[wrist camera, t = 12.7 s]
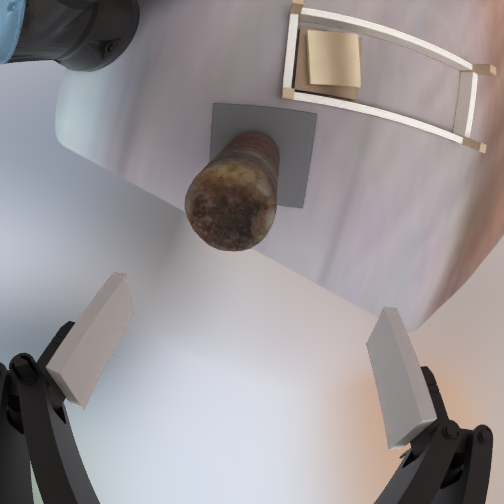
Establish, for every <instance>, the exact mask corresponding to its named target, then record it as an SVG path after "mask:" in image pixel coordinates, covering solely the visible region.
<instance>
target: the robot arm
mask: <svg viewBox="0 0 504 504" xmlns="http://www.w3.org/2000/svg"><path fill="white" fill-rule="evenodd" d="M138 21H139V7H138V4H137V1H136V0H0V64H6V63H13V62H24V61H39V60H54V61H56V62H58V63H59V64H61V65H63V66H65V67H66V68H68V69H70V70H74V71H94V70H97V69H100V68H103V67H105V66H106V65H108V64H110V63H111V62H113V61H114V60H115V59H116V58H117V57H119V56H120V55H121V53H122V52H123V51H124V50H125V49H126V48H127V46H128V45H129V43H130V42H131V40H132V38H133V36H134V34H135V32H136V29H137V26H138ZM133 316H134V310H133V305H132V300H131V295H130V290H129V284H128V278H127V274H124V273H118V272H114V273H113V274H112V275H111V276H110V278H109V279H108V280H107V282H106V283H105V284H104V285H103V287H102V288H101V289H100V291H99V292H98V293H97V294H96V296H95V297H94V298H93V300H92V301H91V302H90V304H89V305H88V306H87V308H86V309H85V310H84V312H83V313H82V315H81V316H80V317H79V319H78V320H77V322H76V323H75V322H71V321H69V322H67V323H66V324H65V325H63V326H62V327H61V328H60V329H59V331H58V332H57V334H56V336H55V337H54V338H53V339H52V341H51V343H49V345H48V346H47V348H46V349H45V351H44V352H43V354H42V355H41V357H40V358H39V360H38V361H37V363H36V362H35V360H34V359H33V357H32V356H31V355H30V354H27V353H20V354H18V355H16V356H15V357H13V359H12V360H11V362H10V363H9V369H10V370H7V369H6V367H5V366H4V365H3V364H2V363H0V504H34V501H33V493H32V483H31V470H30V461H31V464H32V468H33V472H34V475H35V479H36V482H37V485H38V488H39V491H40V494H41V497H42V500H43V503H44V504H100V502H99V500H98V498H97V496H96V494H95V492H94V490H93V487H92V485H91V483H90V480H89V478H88V475H87V473H86V470H85V468H84V465H83V463H82V460H81V457H80V455H79V451H78V449H77V446H76V443H75V440H74V437H73V433H72V430H71V426H70V423H69V419H68V416H67V412H66V408H65V405H64V403H63V402H64V400H65V398H67V400H68V401H69V403H70V404H71V405H74V406H76V407H78V408H81V409H83V410H84V409H85V407H86V405H87V403H88V401H89V398H90V396H91V395H92V393H93V391H94V388H95V386H96V384H97V383H98V381H99V379H100V376H101V375H102V372H103V371H104V369H105V367H106V365H107V363H108V361H109V359H110V357H111V355H112V353H113V352H114V350H115V348H116V346H117V344H118V342H119V340H120V339H121V337H122V335H123V333H124V332H125V330H126V328H127V326H128V324H129V323H130V321H131V319H132V317H133ZM366 345H367V349H368V353H369V357H370V361H371V365H372V369H373V373H374V378H375V382H376V386H377V391H378V395H379V400H380V405H381V410H382V414H383V420H384V425H385V431H386V436H387V442H388V448H389V450H391V449H398V448H403V447H405V446H406V445H407V444H408V443H410V444H411V448H410V449H409V450H407V451H406V452H405V453H403V454H402V456H400V458H403V457H404V456H405V457H404V459H403V461H402V462H401V464H400V466H399V467H398V469H397V470H396V472H395V474H394V475H393V477H392V478H391V480H390V481H389V483H388V485H387V486H386V487H385V489H384V490H383V492H382V493H381V495H380V496H379V497H378V499H377V500H376V502H375V503H374V504H485V501H486V495H487V490H488V484H489V477H490V470H491V460H492V448H493V434H492V431H491V429H490V428H488V426H485V425H479V426H477V427H476V428H475V429H474V430H468V429H461V428H459V426H458V424H457V423H456V422H454V421H452V420H449V418H448V416H447V412H446V409H445V406H444V403H443V400H442V397H441V394H440V393H439V389H438V386H437V385H436V380H435V378H434V375H433V373H432V372H431V371H430V370H429V368H428V367H427V366H424V367H420V365H419V362H418V359H417V357H416V354H415V352H414V349H413V346H412V344H411V341H410V339H409V336H408V334H407V331H406V329H405V327H404V324H403V322H402V319H401V317H400V315H399V313H398V310H397V308H391V307H384V308H383V310H382V312H381V315H380V317H379V319H378V321H377V323H376V325H375V327H374V329H373V331H372V333H371V335H370V337H369V339H368V342H367V343H366Z"/></svg>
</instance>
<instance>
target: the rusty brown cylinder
mask: <svg viewBox="0 0 504 504" xmlns="http://www.w3.org/2000/svg"><path fill="white" fill-rule="evenodd" d="M279 164H280V152H279V148H278V146H277V144H276V143H275V142H274V140H273V139H271V138H270V137H269V136H268V135H267V134H265V133H262V132H259V131H248V132H244V133H241V134H239V135H237V136H236V137H234V138H233V139H232V140H231V141H230V142H229V143H228V144H227V145H226V146H225V147H224V148H223V149H222V150H221V151H220V152H219V153H218V154H217V155H216V156H215V157H214V158H213V159H212V161H211V162H210V163H209V164H208V165H207V166H206V167H205V168H204V169H203V170H202V171H201V172H200V173H199V174H198V175H197V176H196V177H195V179H194V180H193V182H192V184H191V185H190V187H189V189H188V191H187V194H186V197H185V211H186V215H187V218H188V220H189V222H190V224H191V226H192V228H193V230H194V231H195V232H196V233H197V234H198V235H199V237H200V238H202V239H203V240H204V241H205V242H206V243H207V244H208V245H210V246H212V247H214V248H216V249H219V250H224V251H243V250H246V249H251V248H252V247H253V246H255V245H256V244H258V243H259V242H261V241H262V240H263V239H264V238H265V236H266V235H267V234H268V232H269V230H270V228H271V227H272V224H273V221H274V217H275V214H276V201H277V188H278V173H279Z"/></svg>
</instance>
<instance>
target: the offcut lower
mask: <svg viewBox="0 0 504 504" xmlns="http://www.w3.org/2000/svg"><path fill="white" fill-rule="evenodd" d="M307 30H314V31H326V30H320V29H314V28H308V27H301V26H300V29H299V36H298V47H297V58H296V68H295V78H294V88H293V89H295V90H297V91H304V92H311V93H317V94H323V95H329V96H334V97H339V98H344V99H349V100H356V94H357V88H349V87H336V86H317V85H308V72H307V53H306V38H305V35H306V33H307ZM330 32H331V31H330ZM358 43H359V59H360V57H361V45H362V38H358Z"/></svg>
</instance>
